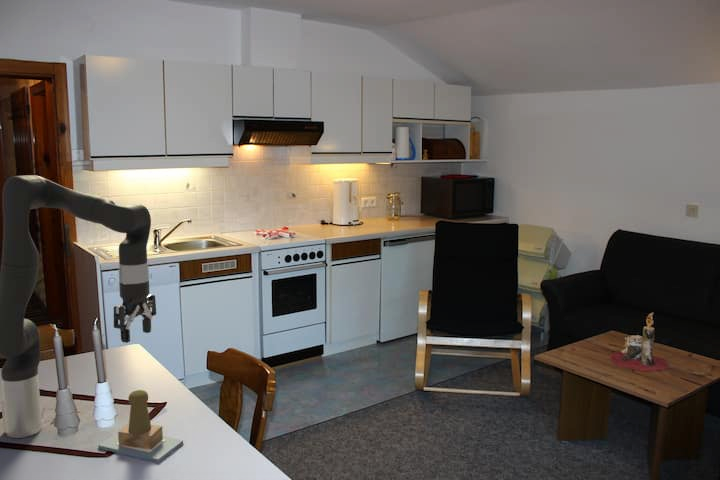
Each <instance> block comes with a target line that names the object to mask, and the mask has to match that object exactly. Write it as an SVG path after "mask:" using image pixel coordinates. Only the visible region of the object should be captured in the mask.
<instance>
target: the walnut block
mask: <svg viewBox="0 0 720 480" xmlns="http://www.w3.org/2000/svg"><path fill="white" fill-rule="evenodd" d="M128 430H129V422H128V423H127V424H126V425H124V426H123V427H122V428H121V429H120V430H119V431H117V433H118V439H119V445H121V446H129V447H136V448H144V449H153V448H154V447H155V446H156V445H157V444H158V443H159V442H160V441H161V440H162V439H163V436H164V435H163V425H156V424H151V429H150V430H149V431H148V432H146V433H142V434H131V433H129V431H128Z"/></svg>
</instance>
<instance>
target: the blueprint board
mask: <svg viewBox="0 0 720 480" xmlns="http://www.w3.org/2000/svg"><path fill="white" fill-rule="evenodd" d="M183 444H184V440H182V439H179V438H174V437H169V436H164V435H163V439H162V440H161V441H160V442H159V443H158V444H157V445H156V446H155V447H154V448H153V449H144V448H136V447H129V446H121V445H119V439H118V432H117V433H115V434H114V435H112V436H110V437H109V438H108V439H105V440H104V441H103V442H101V443H100V444H97V445H98V449H99V448H100V449H99V450H103V449H104V451H107V450H109V451H108V452H111V451H112V452H111V453H116V454H120V455H125V456H129V457H131V458H132V457H133V458H137V459H141V460H146V461H151V462H153V463H157V464H159V463H160V462H162V461H164V459H165V458H167V457H168V456H170V455H171V454H172V453H173V452H175V450H177V449H178V448H180V447H181V446H182V445H183Z"/></svg>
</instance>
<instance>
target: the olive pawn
mask: <svg viewBox="0 0 720 480" xmlns="http://www.w3.org/2000/svg"><path fill="white" fill-rule="evenodd" d="M148 400H149V393H148V392H147V391H146V390H143V389H138V390H133V391H132V392H130V393H129V395H128V403H129V405H130V409H129V410H130V411H129V421H128V423H129V430H128V431H129V433H131V434H142V433H146V432H148V431H149V430H150V429H151V425H152V424H151V419H150V414H149V409H148Z"/></svg>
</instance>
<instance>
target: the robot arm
mask: <svg viewBox="0 0 720 480" xmlns="http://www.w3.org/2000/svg"><path fill="white" fill-rule="evenodd" d="M1 196H2V197H1V200H2V201H1V202H2V220H3V221H2V223H3V224H2V225H3V228H2V232H3V233H2V251H1V260H0V357H1V358H3V359H6V360H5V363H4V364H3V366H2V367H1V369H0V374H1V375H0V376H1V384H2V385H1V387H2V395H3V396H2V398H3V400H2V401H1V404H0V405H1V415H2V426H3V433H5V434H6V436H7V437H9V438H12V439H21V438H22V439H23V438H27V437H31V436H33V435H36V434H37V433H40V431H42V430H43V429H42V428H43V423H42V421H43V420H42V410H41V396H40V385H39V384H40V383H39V382H40V381H39V371H38V370H39V365H40V361H41V344H40V343H41V341H40V340H41V339H40V333H39V328H38V327H37V325H36V323H35V322H33V321H32V320H30V319H28V318H25V314H26V309H27V306H28V304H29V301H30V299H31V297H32V295H33V293H34V291H35V288H36V285H37V282H38V277H39V270H40V269H39V268H40V255H39V254H40V253H39V251H38V249H37V247H36V244H35V242H34V240H33V238H32V236H31V232H30V227H29V223H30V213H31V210H35V209H39V208H52V209H59V210H63V211H66V212H68V213H69V214H71V215H72V216H73V217H76V218H78V219H80V220H84V221H87V222H90V223H94V224H98V225H102V226H104V227H106V228H107V229H110V230H111V231H113V232H116V233H121V234H126V235H125V239H123V241H121V242H120V243H119V246H118V261H119V263H118V264H119V266H118V282H119V283H118V285H119V286H118V287H119V297H120V298H121V299H122V305H114V307H113V328H114V329H119V331H120V340H121V342H122V343H125V344H126V343H130V342H131V335H130V334H131V332H130V331H131V330H130V326H131V324H132V323H133V322H134V320H135V318H137V317H138V316H141V318H142V321H141V322H142V333H145V334H149V333H151V332H152V319H153V316H156V315H157V302H156V295H155V294H150V273H149V266H148V249H147V248H148V247H147V245H148V242H149V237H150V232H151V225H152V218H151V214H150V211H149V209H148V208H147V206H145V205H143V204H141V203H135V204H130V205H129V204H128V205H117V204H116V203H115V202H114V201H113V200H111V199H109V198H105V197H102V196H99V195H98V196H97V195H94V194H91V193H85V192H81V191H77V190H76V189H75V190H74V189H71V188H68V187H65V186H62V185H60V184H58V183H56V182H53V181H52V180H49V179H47V178H45V177H43V176H39V175H36V174H35V175H33V174H29V175H24V174H23V175H15V176H11V177H9V178H8V179H6V180H5V183H4V185H3V186H2V195H1Z"/></svg>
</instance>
